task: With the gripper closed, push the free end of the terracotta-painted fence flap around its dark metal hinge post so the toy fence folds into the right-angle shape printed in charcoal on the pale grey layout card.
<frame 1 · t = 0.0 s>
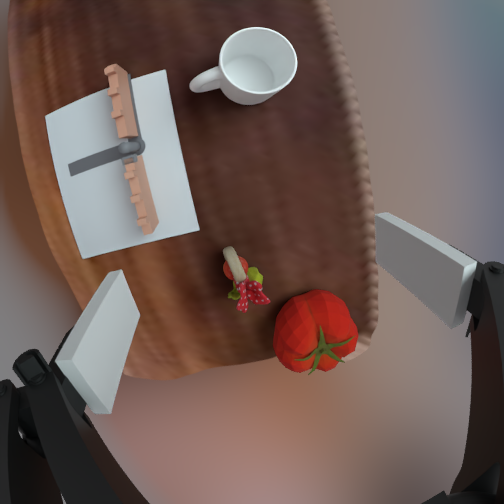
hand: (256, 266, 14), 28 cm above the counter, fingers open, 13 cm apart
fence flap: (140, 193, 35), point 4 cm above the counter, hinge at 0.0°
tomato: (304, 312, 50), on the counter
layout card: (115, 167, 36), on the counter
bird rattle: (235, 265, 45), on the counter
fence fixed: (137, 146, 36), resting on layout card
mug: (234, 82, 34), on the counter
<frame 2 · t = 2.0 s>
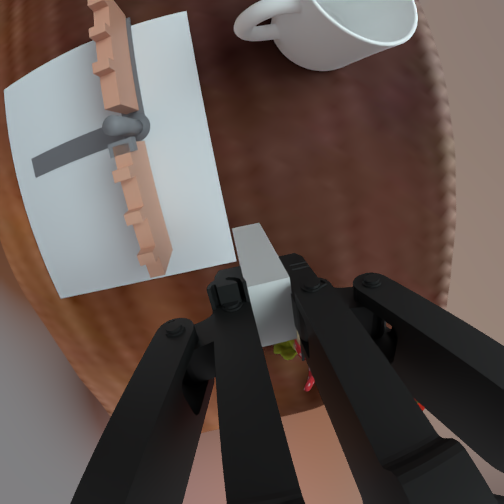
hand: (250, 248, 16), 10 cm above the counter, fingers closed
fence flap: (143, 205, 20), point 4 cm above the counter, hinge at 0.0°
layout card: (101, 162, 22), on the counter
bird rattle: (285, 307, 31), on the counter
fence fixed: (136, 127, 21), resting on layout card
mug: (293, 36, 20), on the counter
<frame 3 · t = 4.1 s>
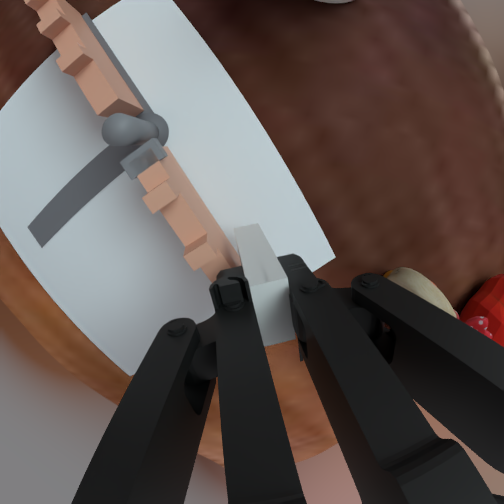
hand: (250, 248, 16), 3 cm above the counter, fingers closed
fence flap: (200, 231, 15), point 4 cm above the counter, hinge at -1.5°, touching gripper
tomato: (473, 309, 27), on the counter
layout card: (118, 195, 17), on the counter
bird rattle: (396, 289, 23), on the counter
fence fixed: (149, 133, 16), resting on layout card
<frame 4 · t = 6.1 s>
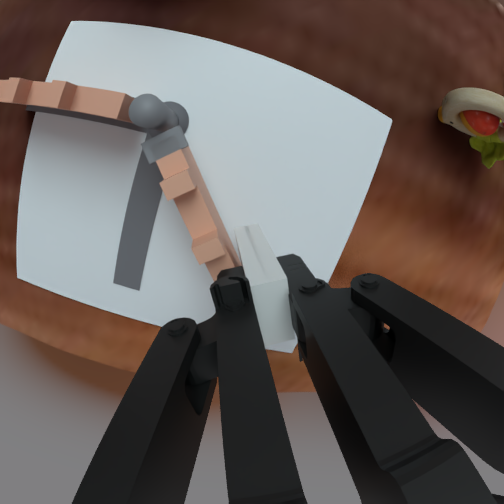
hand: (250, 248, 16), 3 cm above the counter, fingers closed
fence flap: (207, 227, 15), point 4 cm above the counter, hinge at -48.6°, touching gripper
layout card: (179, 191, 17), on the counter
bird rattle: (455, 122, 18), on the counter
fence fixed: (168, 122, 16), resting on layout card
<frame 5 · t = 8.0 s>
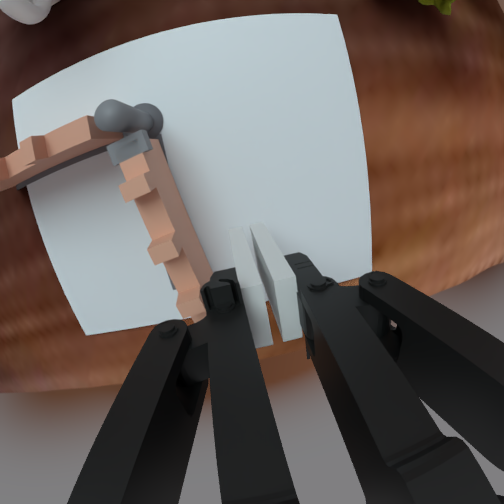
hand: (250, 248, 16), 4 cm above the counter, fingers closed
fence flap: (171, 228, 15), point 4 cm above the counter, hinge at -81.9°
layout card: (187, 174, 17), on the counter
fence fixed: (144, 123, 16), resting on layout card
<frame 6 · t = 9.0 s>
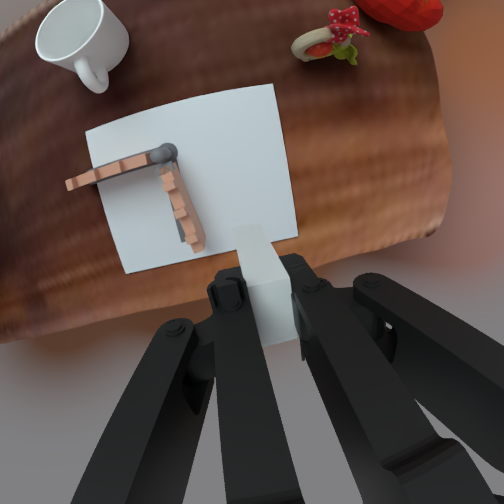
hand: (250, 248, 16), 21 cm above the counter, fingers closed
fence flap: (182, 205, 31), point 4 cm above the counter, hinge at -81.4°
tomato: (376, 1, 26), on the counter
layout card: (190, 180, 34), on the counter
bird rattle: (318, 53, 29), on the counter
fence fixed: (167, 153, 32), resting on layout card
mug: (104, 60, 26), on the counter
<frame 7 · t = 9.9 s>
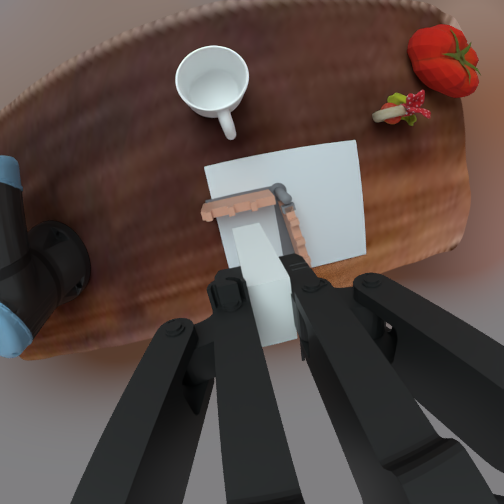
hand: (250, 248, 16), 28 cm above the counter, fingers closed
fence flap: (295, 234, 42), point 4 cm above the counter, hinge at -81.4°
tomato: (425, 64, 36), on the counter
layout card: (294, 212, 45), on the counter
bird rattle: (385, 114, 40), on the counter
fence fixed: (277, 190, 43), resting on layout card
mug: (218, 103, 38), on the counter
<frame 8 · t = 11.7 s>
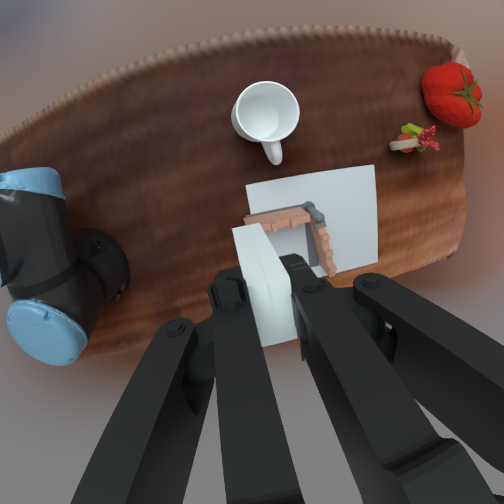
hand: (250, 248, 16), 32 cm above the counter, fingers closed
fence flap: (323, 246, 48), point 4 cm above the counter, hinge at -81.4°
tomato: (434, 95, 44), on the counter
layout card: (320, 227, 51), on the counter
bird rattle: (398, 141, 47), on the counter
fence fixed: (307, 207, 49), resting on layout card
mug: (259, 128, 44), on the counter
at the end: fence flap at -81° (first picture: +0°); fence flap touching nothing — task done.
